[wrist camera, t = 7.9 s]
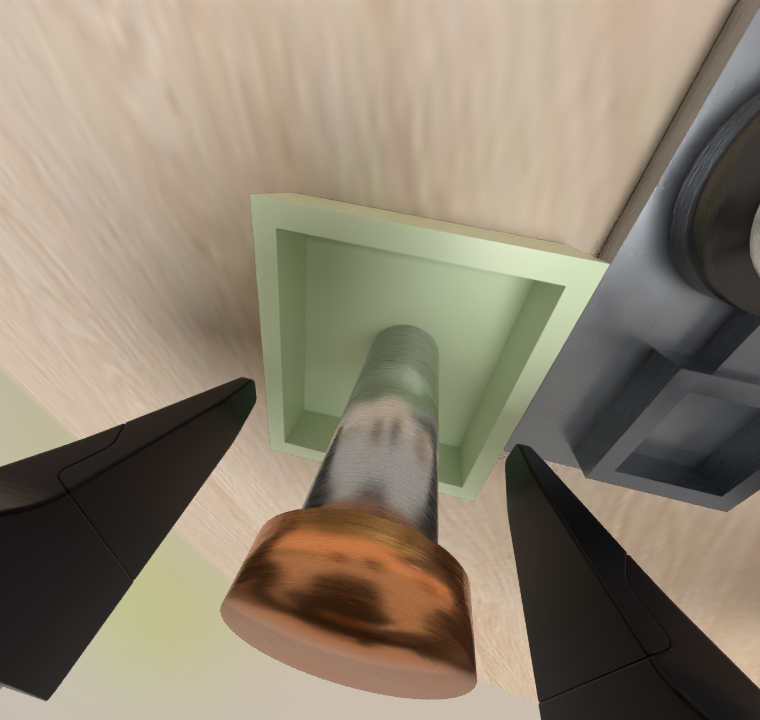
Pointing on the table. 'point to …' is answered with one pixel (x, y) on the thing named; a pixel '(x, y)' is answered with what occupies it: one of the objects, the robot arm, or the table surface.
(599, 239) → the table surface
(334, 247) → the tray
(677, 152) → the tensioner
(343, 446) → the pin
